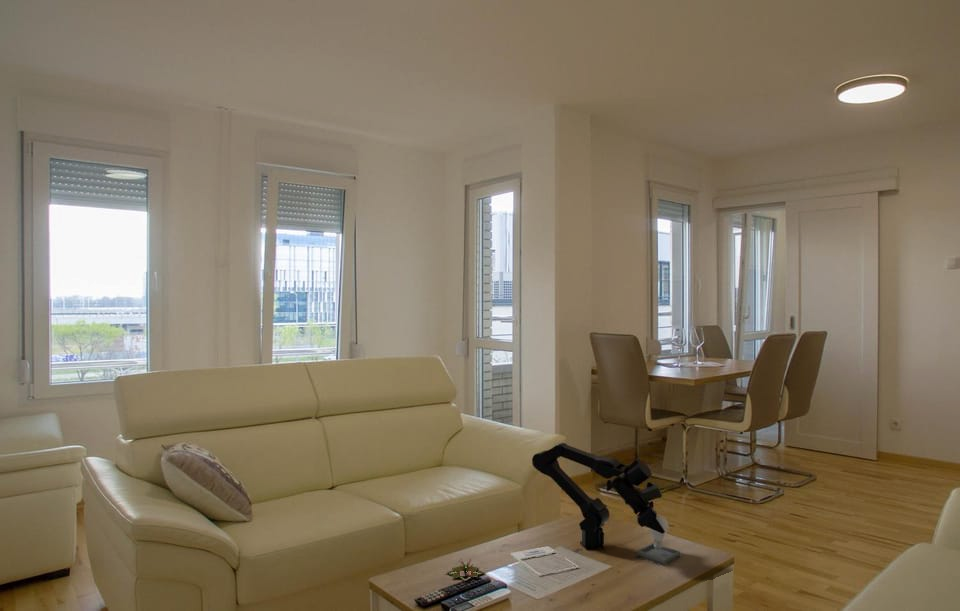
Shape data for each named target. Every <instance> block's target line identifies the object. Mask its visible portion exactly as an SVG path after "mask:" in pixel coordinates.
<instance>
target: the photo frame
mask: <svg viewBox="0 0 960 611" xmlns="http://www.w3.org/2000/svg"><path fill="white" fill-rule="evenodd" d="M553 551H556V550H555V549H553V548H552V547H550V546H543V547H542V546H541V547H537V548H531V549H525V550H520V551H515V552H514V551H513V552H510V553H509V555H510V556H511V557H512V556H513V557H512V558H514V559H515V560H516V561H517V560H518V562H519V563H520V562H521V563H522V565H523V564H524V565H526V566H527V567H528V568H530V569H531V570H533V571H534V572H535V573H536V574H538V575H542V574H541V573H539V572H538V571H536V569H534V568H533V567H532V566H529V565H528V563H526V562H524V560H523V559H525V560H529V559H528V558H530V559H533V558H532V557H536V556H540V555H545V554H547V553H550V552H551V553H552V552H553ZM536 558H537V557H536ZM565 559H566V560H567V561H569V562H570V563H572V564H573V565H575V567H574V566H573V565H572V566H570V567H567V568H561V569H557V570H558V571H562V569H563V570H568V569H574V568H579V569H580V566H579V565H577V564H576V563H574V562H573V561H572V560H570V559H568V558H567V557H565ZM567 561H566V562H567ZM521 563H520V564H521ZM570 563H569V564H570ZM524 565H523V566H524ZM527 567H526V568H527ZM528 568H527V569H528ZM531 570H530V571H531ZM574 570H575V569H574ZM555 571H556V570H555ZM547 572H548V573H549V572H550V571H547ZM556 572H557V571H556ZM545 573H546V572H545ZM536 574H535V575H536ZM546 574H547V573H546Z"/></svg>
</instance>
